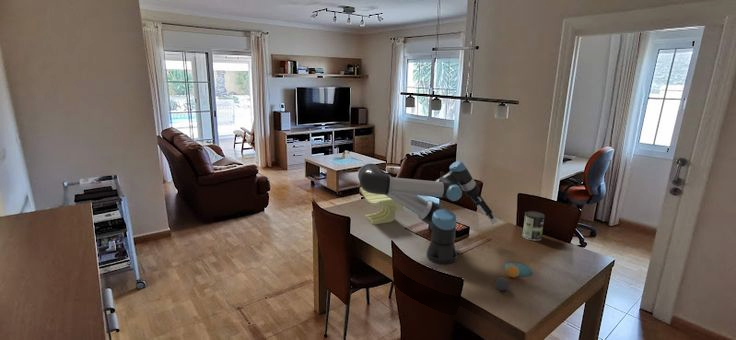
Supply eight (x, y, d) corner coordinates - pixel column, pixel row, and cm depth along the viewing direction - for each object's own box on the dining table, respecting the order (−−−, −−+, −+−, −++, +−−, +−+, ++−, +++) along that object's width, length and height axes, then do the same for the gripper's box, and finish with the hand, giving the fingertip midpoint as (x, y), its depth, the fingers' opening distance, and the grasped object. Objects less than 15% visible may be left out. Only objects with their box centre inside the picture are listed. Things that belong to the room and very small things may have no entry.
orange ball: (509, 280, 166) (510, 269, 164) (503, 273, 171) (504, 263, 170) (520, 279, 166) (522, 268, 165) (514, 273, 172) (516, 262, 170)
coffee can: (542, 236, 214) (546, 213, 210) (540, 242, 205) (543, 218, 202) (523, 232, 219) (526, 209, 215) (520, 238, 210) (523, 214, 207)
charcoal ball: (498, 293, 155) (499, 281, 154) (492, 286, 160) (493, 275, 159) (510, 292, 156) (512, 281, 154) (504, 285, 161) (506, 274, 160)
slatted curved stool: (402, 226, 224) (403, 198, 220) (378, 229, 218) (379, 201, 214) (381, 209, 251) (381, 184, 247) (359, 212, 245) (360, 187, 240)
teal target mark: (512, 276, 169) (512, 276, 169) (500, 263, 180) (500, 263, 180) (536, 275, 170) (536, 275, 170) (523, 262, 182) (523, 262, 182)
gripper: (485, 190, 180) (505, 222, 185) (467, 177, 204) (485, 206, 209) (472, 198, 180) (493, 230, 186) (456, 184, 205) (474, 213, 210)
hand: (489, 217), depth 198 cm, fingers open, 13 cm apart
